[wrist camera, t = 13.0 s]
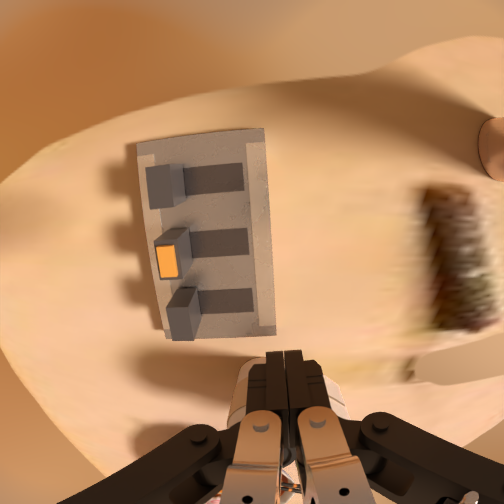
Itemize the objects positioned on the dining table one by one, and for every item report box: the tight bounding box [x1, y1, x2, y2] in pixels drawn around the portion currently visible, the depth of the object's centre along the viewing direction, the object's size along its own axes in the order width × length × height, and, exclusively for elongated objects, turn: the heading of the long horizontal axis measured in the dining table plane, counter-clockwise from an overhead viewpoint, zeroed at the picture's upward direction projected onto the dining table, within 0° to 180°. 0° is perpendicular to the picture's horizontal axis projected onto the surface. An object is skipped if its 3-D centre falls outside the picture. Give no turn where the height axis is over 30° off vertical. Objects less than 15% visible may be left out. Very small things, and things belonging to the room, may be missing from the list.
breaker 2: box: [166, 288, 202, 341], centre depth 33 cm, size 2×4×5 cm, turn 4°
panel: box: [136, 128, 276, 339], centre depth 35 cm, size 14×24×2 cm, turn 4°
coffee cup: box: [227, 357, 296, 468], centre depth 34 cm, size 9×9×15 cm
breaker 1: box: [145, 164, 186, 210], centre depth 29 cm, size 2×4×5 cm, turn 4°
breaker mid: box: [154, 228, 193, 280], centre depth 31 cm, size 2×4×6 cm, turn 4°
